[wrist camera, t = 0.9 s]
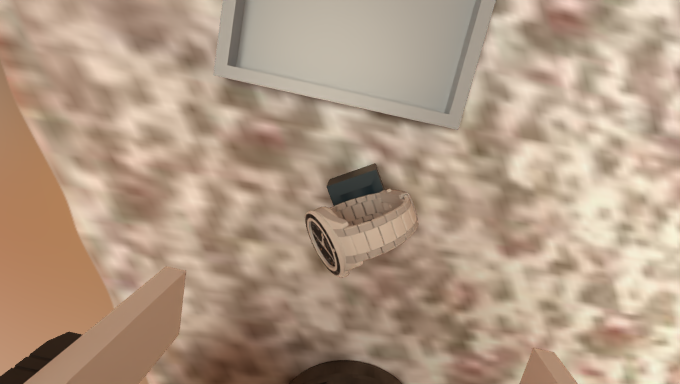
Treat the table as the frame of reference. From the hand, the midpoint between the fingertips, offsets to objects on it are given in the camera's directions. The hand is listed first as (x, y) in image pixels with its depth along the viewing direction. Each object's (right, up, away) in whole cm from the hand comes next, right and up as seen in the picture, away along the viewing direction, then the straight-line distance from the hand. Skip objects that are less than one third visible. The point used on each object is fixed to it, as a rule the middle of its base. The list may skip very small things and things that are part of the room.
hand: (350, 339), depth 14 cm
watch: (+2, +5, +20) cm, 21 cm away
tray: (+1, +22, +16) cm, 27 cm away
